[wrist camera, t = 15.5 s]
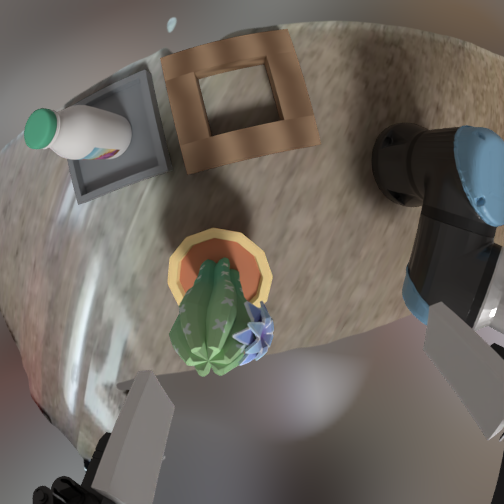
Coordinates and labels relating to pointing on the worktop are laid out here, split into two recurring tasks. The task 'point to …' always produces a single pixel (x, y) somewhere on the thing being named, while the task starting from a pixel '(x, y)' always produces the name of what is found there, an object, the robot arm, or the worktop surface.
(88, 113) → the milk bottle
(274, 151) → the block
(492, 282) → the robot arm
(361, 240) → the worktop surface
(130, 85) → the tray
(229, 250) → the potted cactus
